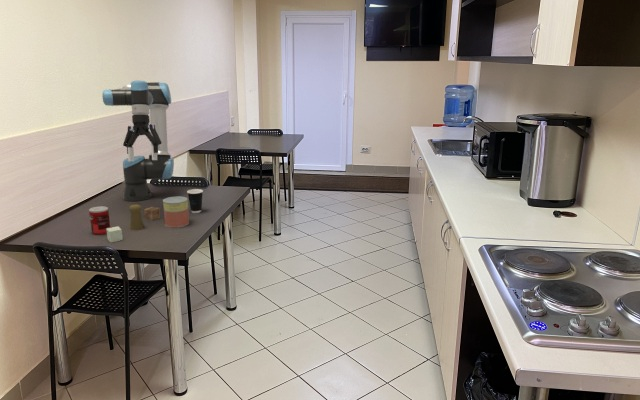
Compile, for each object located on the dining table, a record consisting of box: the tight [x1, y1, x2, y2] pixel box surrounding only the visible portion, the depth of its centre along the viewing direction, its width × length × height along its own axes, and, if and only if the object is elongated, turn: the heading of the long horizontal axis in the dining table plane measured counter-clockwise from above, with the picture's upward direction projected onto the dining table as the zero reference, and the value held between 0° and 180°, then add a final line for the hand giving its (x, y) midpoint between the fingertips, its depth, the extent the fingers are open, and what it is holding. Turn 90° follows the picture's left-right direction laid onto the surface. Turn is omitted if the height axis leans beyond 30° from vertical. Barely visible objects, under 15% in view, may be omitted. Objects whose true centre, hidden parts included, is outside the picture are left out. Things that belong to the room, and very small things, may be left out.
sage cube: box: [106, 225, 124, 243], centre depth 206 cm, size 5×5×5 cm
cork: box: [128, 203, 145, 231], centre depth 220 cm, size 6×6×11 cm
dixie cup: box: [186, 188, 204, 214], centre depth 244 cm, size 8×8×11 cm
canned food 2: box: [162, 195, 190, 228], centre depth 226 cm, size 11×11×12 cm
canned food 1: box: [88, 205, 111, 236], centre depth 214 cm, size 8×8×11 cm
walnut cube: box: [143, 206, 161, 221], centre depth 235 cm, size 5×5×5 cm
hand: (142, 160), depth 222 cm, fingers open, 13 cm apart
